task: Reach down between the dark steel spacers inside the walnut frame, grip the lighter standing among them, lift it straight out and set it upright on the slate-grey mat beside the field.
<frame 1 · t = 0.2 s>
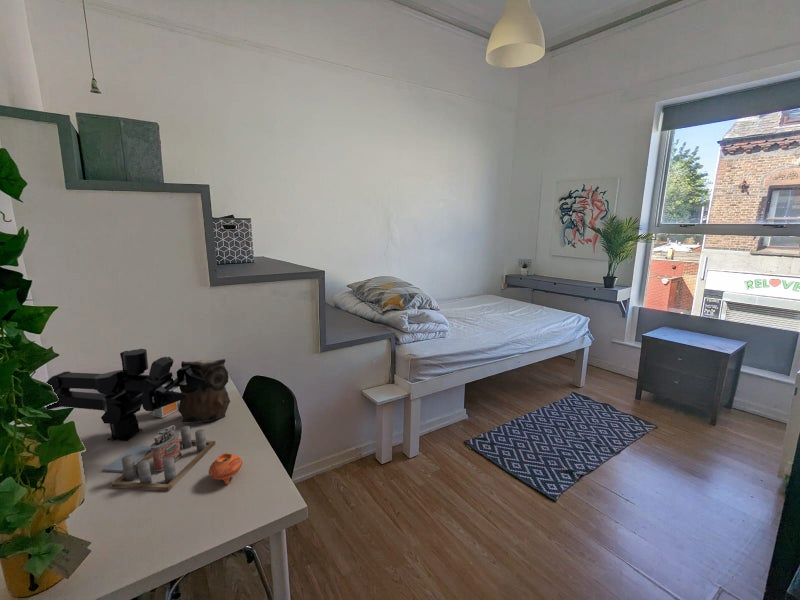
hand: (196, 388, 109), 17 cm above the table, tool horizontal, fingers open, 9 cm apart
mat: (130, 458, 103), on the table
skincare box 2: (166, 413, 128), on the table
pot: (227, 478, 95), on the table
owl: (204, 416, 124), point 1 cm above the table
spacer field: (168, 463, 101), on the table
lighter: (168, 464, 101), resting in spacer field
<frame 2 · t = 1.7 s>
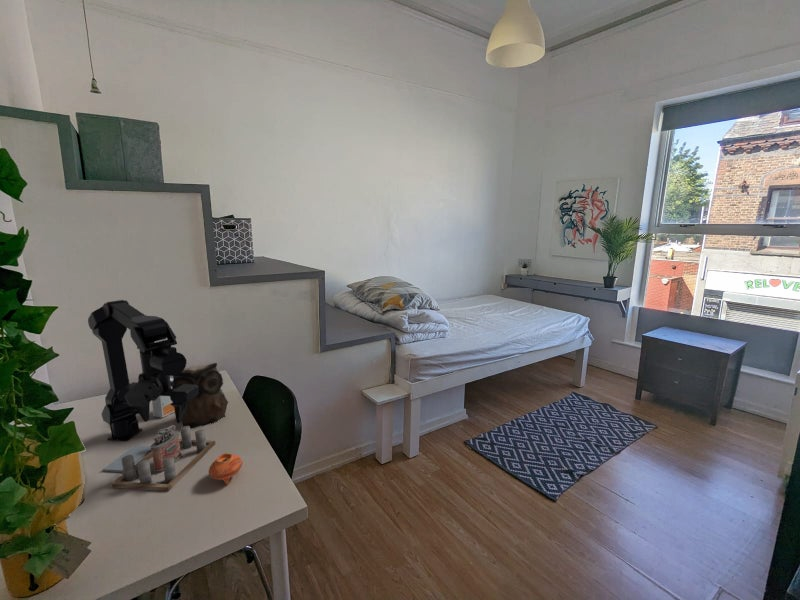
hand: (162, 422, 98), 12 cm above the table, tool pointing down, fingers open, 9 cm apart
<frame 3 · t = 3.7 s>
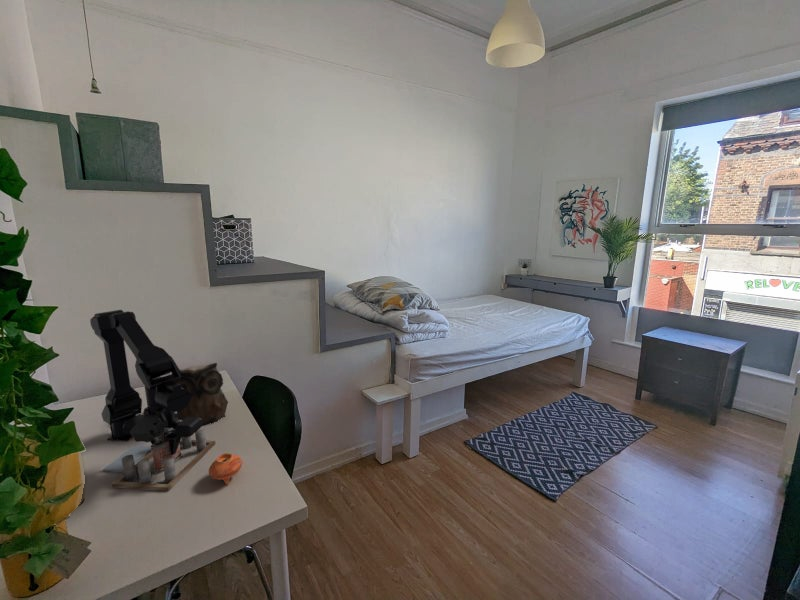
hand: (167, 453, 100), 3 cm above the table, tool pointing down, fingers closed on lighter, 3 cm apart
lighter: (168, 464, 101), resting in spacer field, touching gripper
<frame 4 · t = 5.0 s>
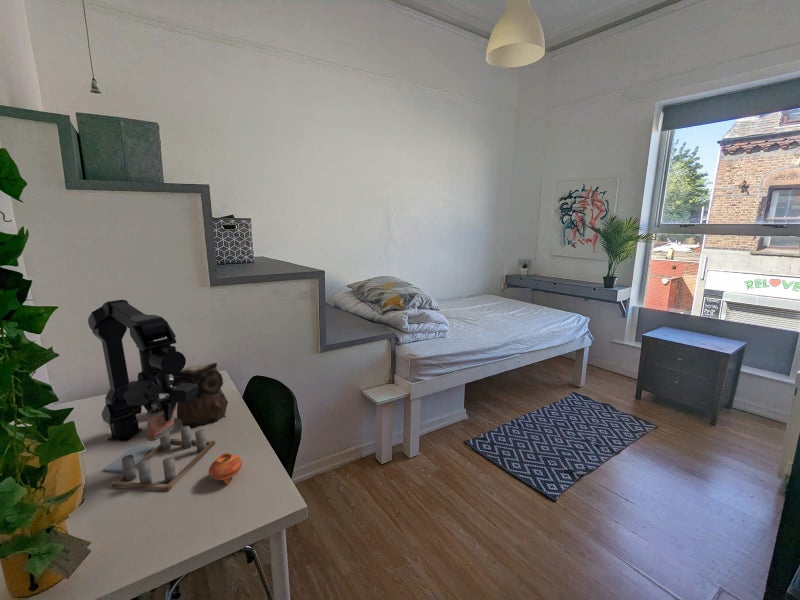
hand: (162, 420, 98), 13 cm above the table, tool pointing down, fingers closed on lighter, 3 cm apart
lighter: (160, 433, 99), point 9 cm above the table, touching gripper
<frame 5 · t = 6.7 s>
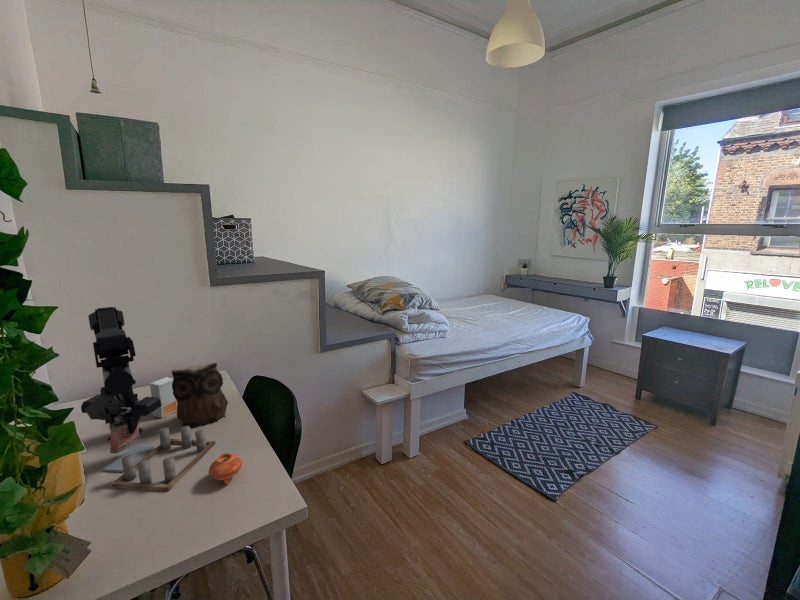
hand: (126, 433, 101), 8 cm above the table, tool pointing down, fingers closed on lighter, 3 cm apart
lighter: (125, 445, 102), point 4 cm above the table, touching gripper
when the fingers open (5 cm above the table, at t = 7.9 s): lighter stays where it is, resting on mat.
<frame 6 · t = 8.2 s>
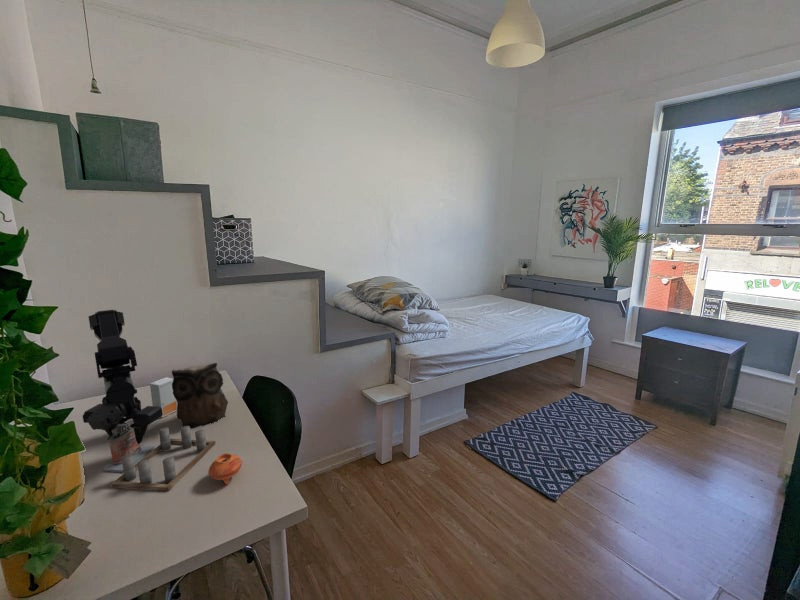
hand: (127, 442, 102), 5 cm above the table, tool pointing down, fingers open, 7 cm apart
lighter: (127, 457, 103), resting on mat
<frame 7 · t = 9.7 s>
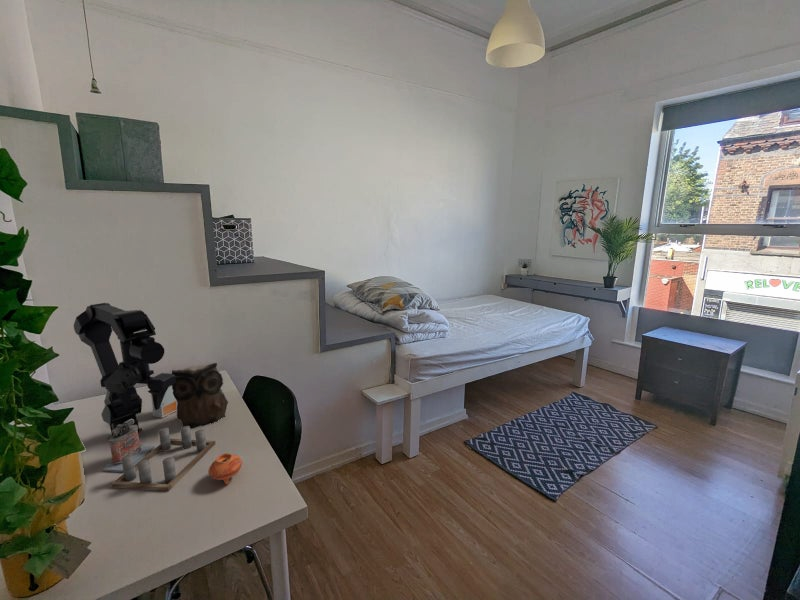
hand: (142, 408, 105), 13 cm above the table, tool pointing down, fingers open, 9 cm apart
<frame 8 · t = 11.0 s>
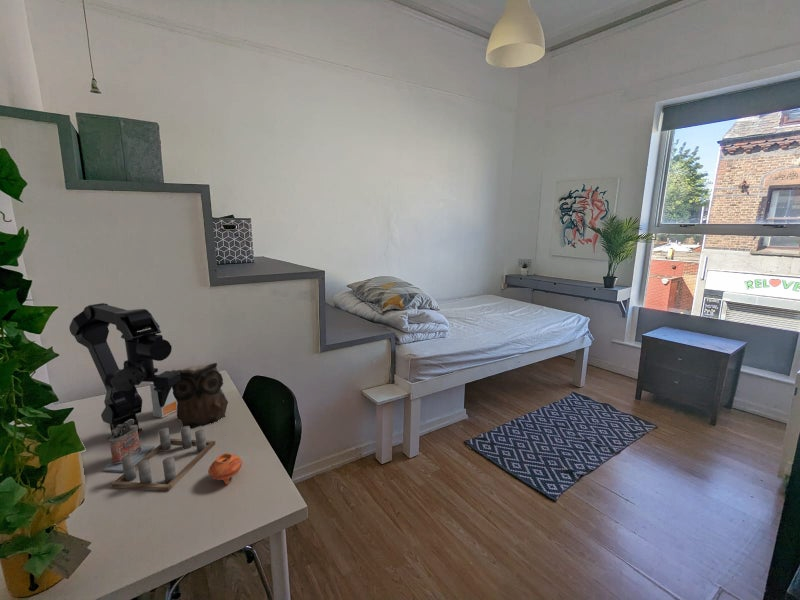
hand: (147, 406, 106), 13 cm above the table, tool pointing down, fingers open, 9 cm apart
at the end: lighter inside the target area on the mat (0.8 cm from its centre), point 0.4 cm above the mat's base; lighter tilted 0°; the gripper is holding nothing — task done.
